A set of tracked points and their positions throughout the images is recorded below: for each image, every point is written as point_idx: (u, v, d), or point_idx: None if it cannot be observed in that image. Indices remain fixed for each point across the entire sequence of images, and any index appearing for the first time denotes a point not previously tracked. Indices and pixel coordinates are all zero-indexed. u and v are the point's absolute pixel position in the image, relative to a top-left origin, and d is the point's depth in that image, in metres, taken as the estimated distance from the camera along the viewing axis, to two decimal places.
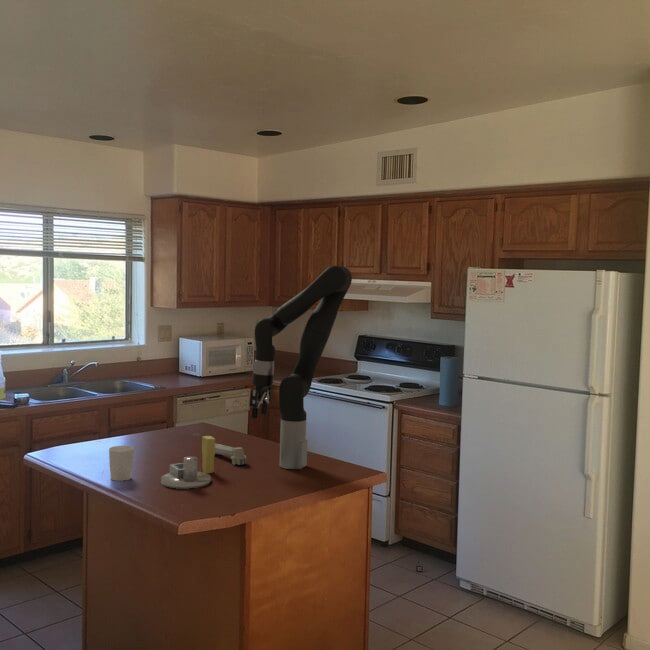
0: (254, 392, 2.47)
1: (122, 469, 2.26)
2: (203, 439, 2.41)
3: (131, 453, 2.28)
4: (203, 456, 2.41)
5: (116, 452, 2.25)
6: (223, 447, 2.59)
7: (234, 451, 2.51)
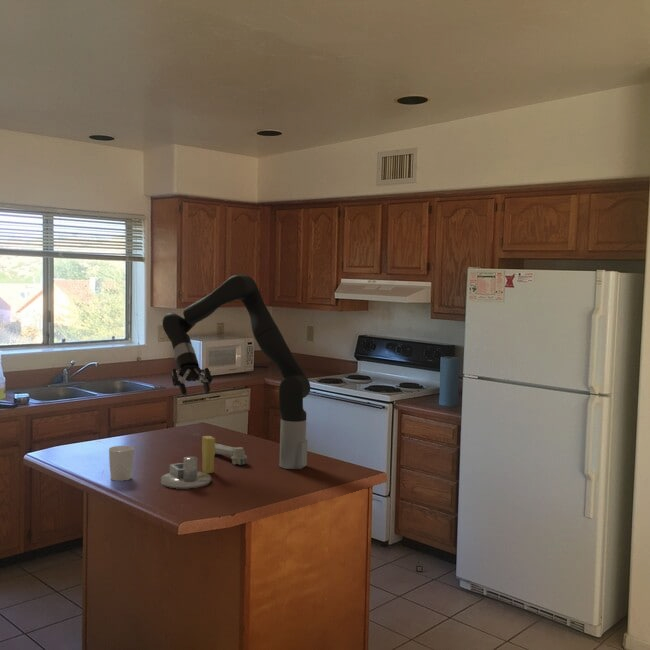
0: (172, 372, 2.51)
1: (122, 469, 2.26)
2: (203, 439, 2.41)
3: (131, 453, 2.28)
4: (203, 456, 2.41)
5: (116, 452, 2.25)
6: (223, 447, 2.59)
7: (234, 451, 2.52)
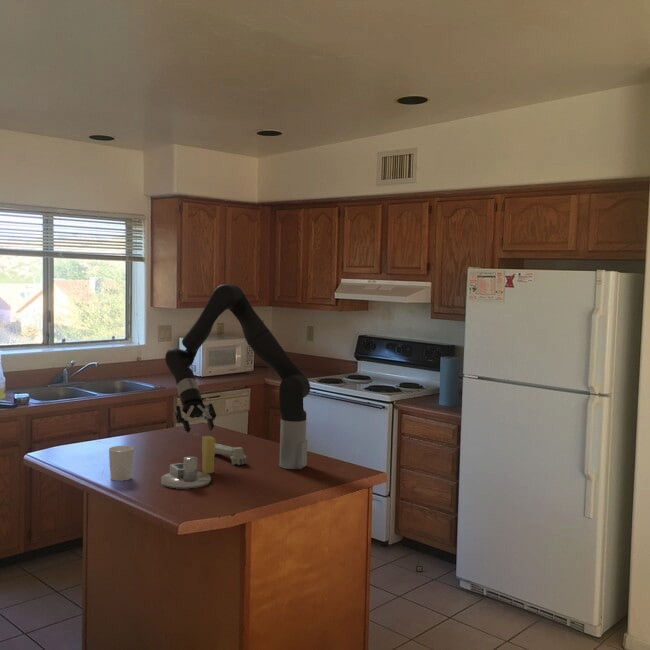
0: None
1: (122, 469, 2.26)
2: (203, 439, 2.41)
3: (131, 453, 2.28)
4: (203, 456, 2.41)
5: (116, 452, 2.25)
6: (223, 447, 2.59)
7: (233, 451, 2.52)
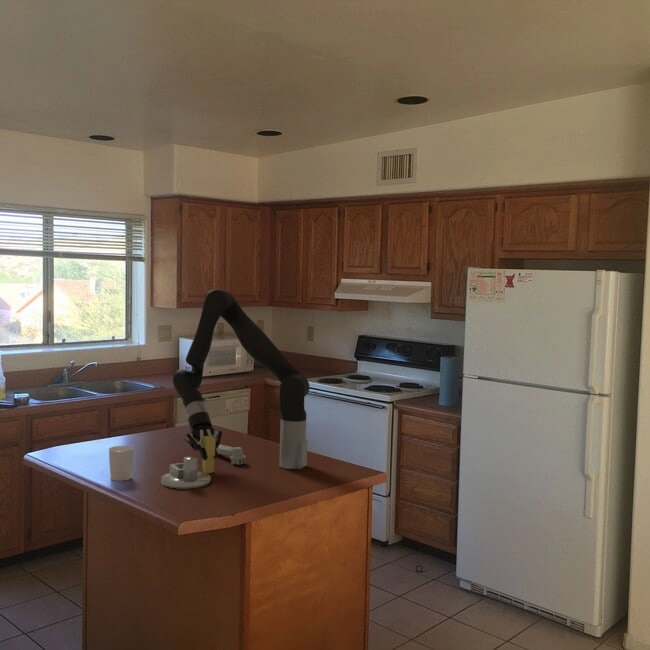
0: (186, 437, 2.40)
1: (122, 469, 2.26)
2: (203, 439, 2.41)
3: (131, 453, 2.28)
4: None
5: (116, 452, 2.25)
6: (222, 447, 2.59)
7: (233, 451, 2.52)
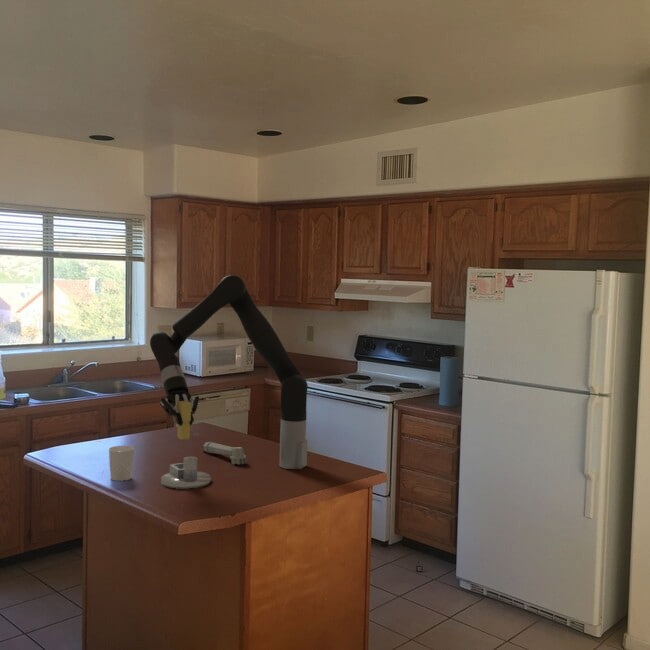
0: (161, 402, 2.29)
1: (122, 469, 2.26)
2: None
3: (131, 453, 2.28)
4: None
5: (116, 452, 2.25)
6: (222, 447, 2.59)
7: (233, 451, 2.52)
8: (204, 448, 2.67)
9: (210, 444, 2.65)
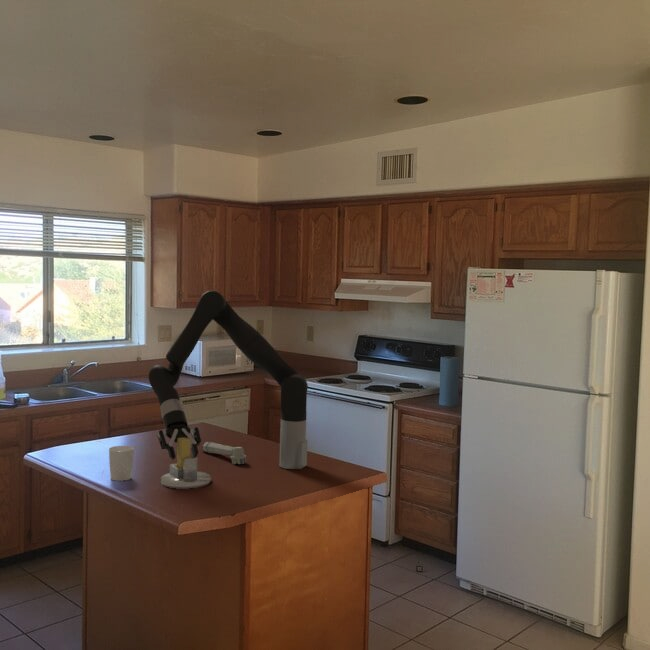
0: (158, 434, 2.30)
1: (122, 469, 2.26)
2: (178, 441, 2.30)
3: (131, 453, 2.28)
4: (178, 458, 2.30)
5: (116, 452, 2.25)
6: (222, 447, 2.59)
7: (234, 450, 2.52)
8: (203, 448, 2.67)
9: (210, 444, 2.66)
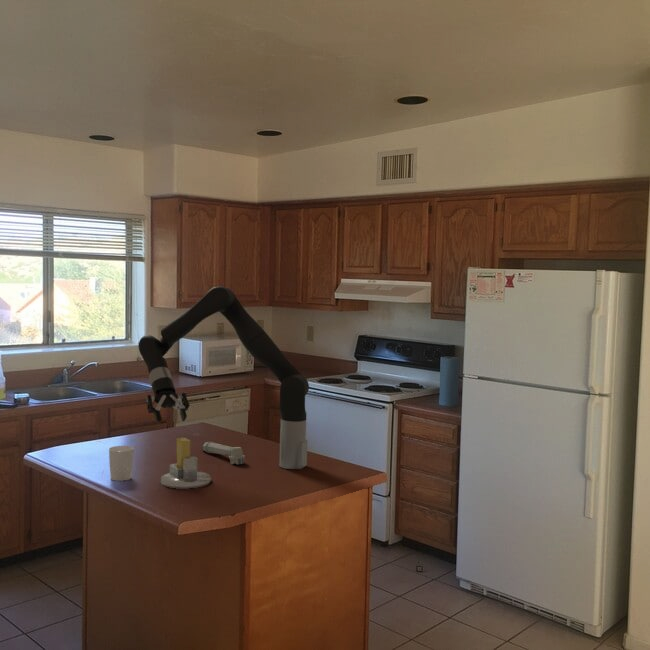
0: (147, 398, 2.40)
1: (122, 469, 2.26)
2: (178, 441, 2.30)
3: (131, 453, 2.28)
4: (178, 459, 2.30)
5: (116, 452, 2.25)
6: (221, 447, 2.59)
7: (232, 451, 2.52)
8: (203, 448, 2.68)
9: (209, 444, 2.66)
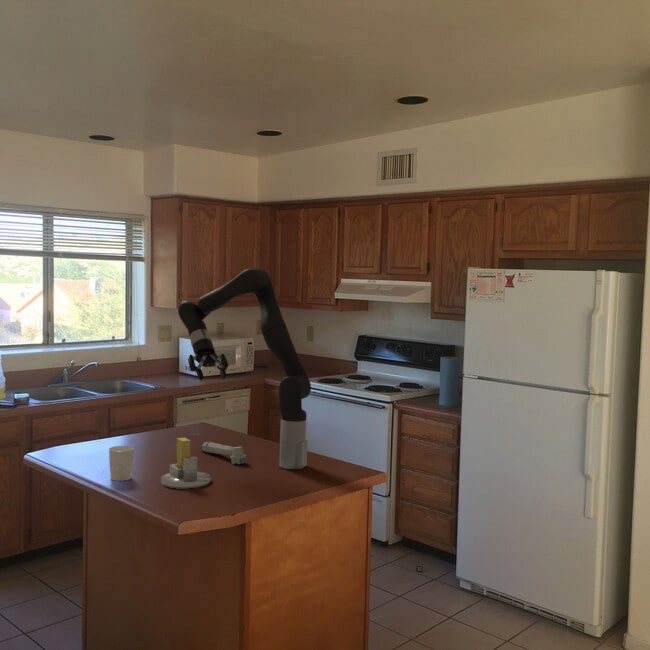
0: (189, 357, 2.54)
1: (122, 469, 2.26)
2: (178, 441, 2.30)
3: (131, 453, 2.28)
4: (178, 459, 2.30)
5: (116, 452, 2.25)
6: (222, 446, 2.59)
7: (233, 450, 2.52)
8: (203, 448, 2.68)
9: (209, 444, 2.66)
